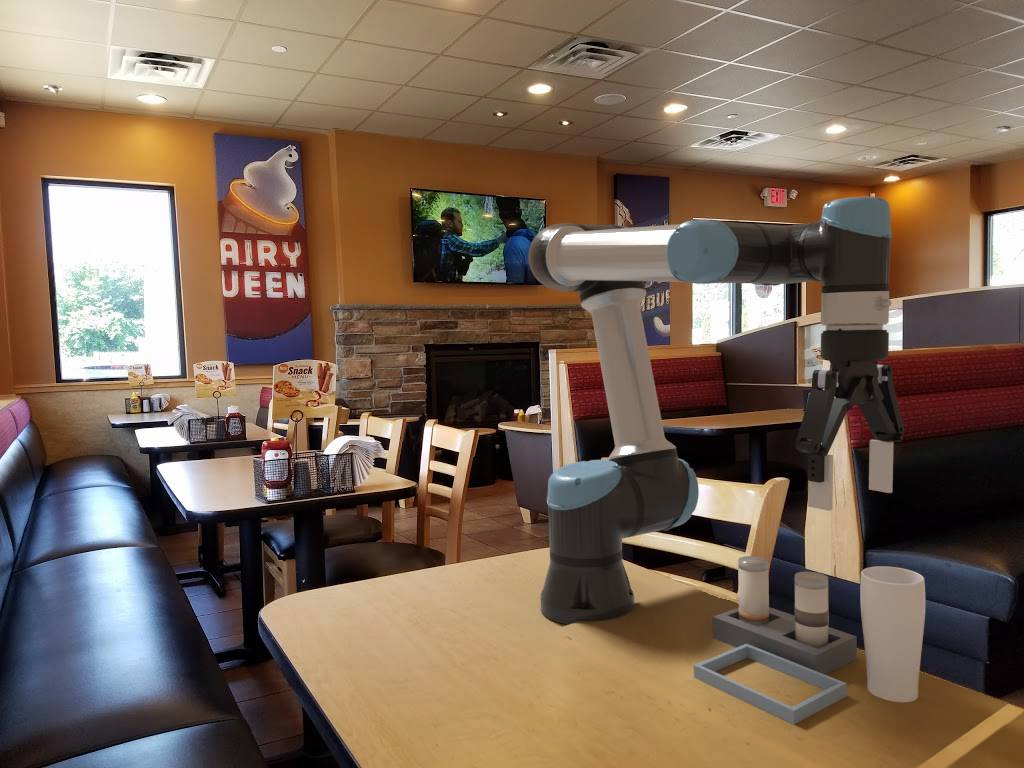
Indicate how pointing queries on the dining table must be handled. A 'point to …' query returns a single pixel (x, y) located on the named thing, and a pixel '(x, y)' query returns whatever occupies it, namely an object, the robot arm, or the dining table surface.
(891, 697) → the drinking glass
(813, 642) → the cylinder
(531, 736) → the dining table surface
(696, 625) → the dining table surface
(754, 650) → the parts tray
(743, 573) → the fuse
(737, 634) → the fuse block
